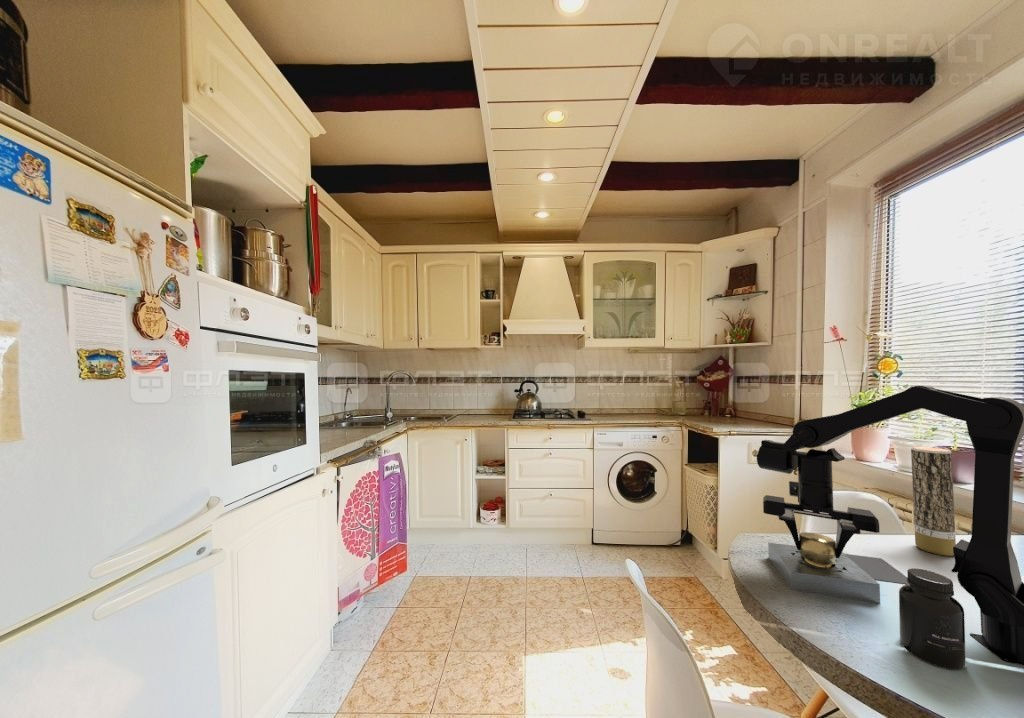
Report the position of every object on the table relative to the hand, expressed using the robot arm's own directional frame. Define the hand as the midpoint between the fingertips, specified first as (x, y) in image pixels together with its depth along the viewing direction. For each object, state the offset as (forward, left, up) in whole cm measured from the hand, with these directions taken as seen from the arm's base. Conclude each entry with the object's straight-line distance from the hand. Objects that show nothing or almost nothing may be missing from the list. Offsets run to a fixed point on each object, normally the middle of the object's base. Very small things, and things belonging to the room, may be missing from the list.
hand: (817, 553), depth 80 cm
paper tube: (+26, -34, -6) cm, 43 cm away
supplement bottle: (-20, -7, -6) cm, 22 cm away
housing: (0, 0, -6) cm, 6 cm away
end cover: (0, 0, -4) cm, 4 cm away
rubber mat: (+9, -13, -6) cm, 17 cm away
